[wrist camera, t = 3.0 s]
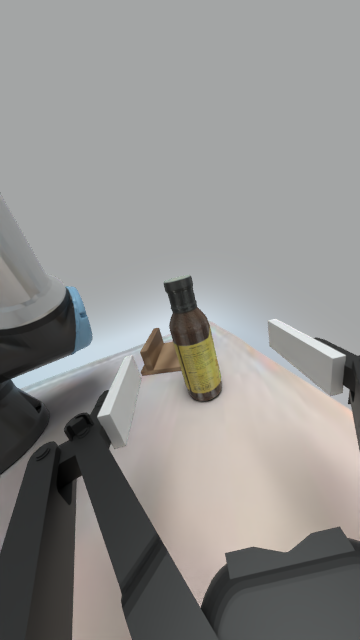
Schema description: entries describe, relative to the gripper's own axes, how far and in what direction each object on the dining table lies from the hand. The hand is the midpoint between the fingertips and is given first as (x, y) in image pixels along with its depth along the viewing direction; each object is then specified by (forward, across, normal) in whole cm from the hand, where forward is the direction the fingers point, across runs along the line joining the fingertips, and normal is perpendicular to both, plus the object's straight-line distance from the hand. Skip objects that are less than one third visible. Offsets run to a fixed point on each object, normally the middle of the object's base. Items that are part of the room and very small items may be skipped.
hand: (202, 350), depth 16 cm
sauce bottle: (+10, 0, -14) cm, 17 cm away
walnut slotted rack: (+23, -5, -14) cm, 27 cm away
